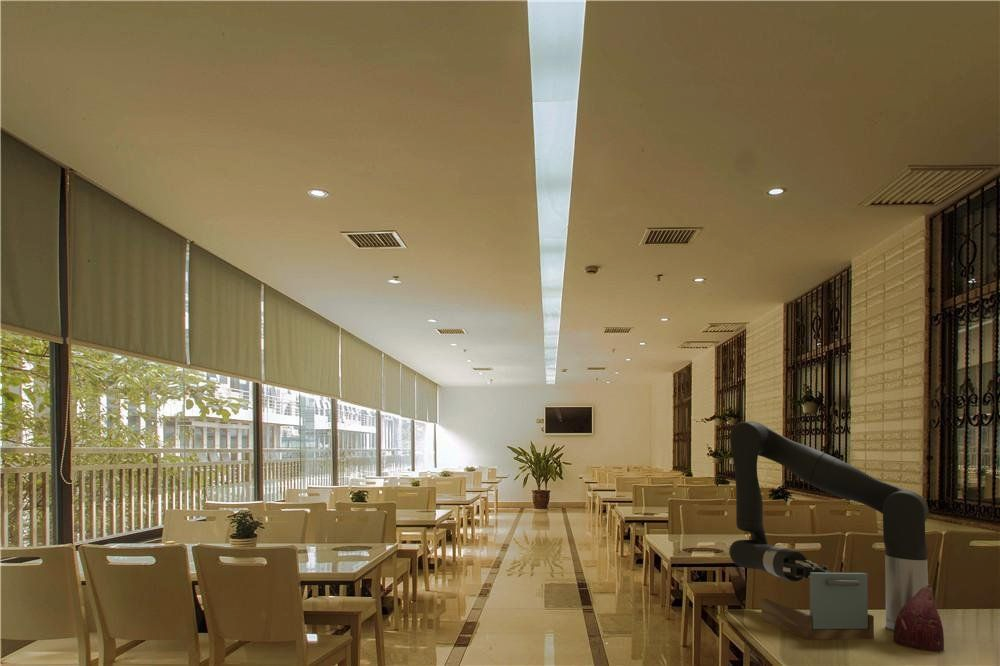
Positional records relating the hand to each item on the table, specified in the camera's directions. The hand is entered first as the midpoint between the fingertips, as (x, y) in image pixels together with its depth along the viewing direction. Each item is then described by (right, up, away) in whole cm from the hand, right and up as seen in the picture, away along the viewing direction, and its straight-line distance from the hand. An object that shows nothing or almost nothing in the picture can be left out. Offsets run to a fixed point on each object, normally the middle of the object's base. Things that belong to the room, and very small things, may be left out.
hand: (828, 576), depth 183 cm
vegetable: (+17, -13, -7) cm, 23 cm away
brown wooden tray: (-2, -13, +3) cm, 14 cm away
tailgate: (0, -10, -5) cm, 12 cm away
